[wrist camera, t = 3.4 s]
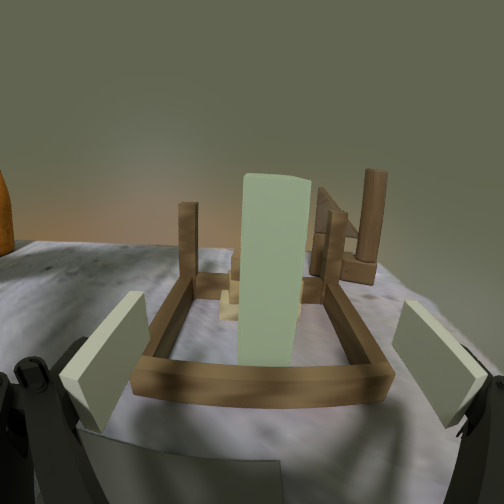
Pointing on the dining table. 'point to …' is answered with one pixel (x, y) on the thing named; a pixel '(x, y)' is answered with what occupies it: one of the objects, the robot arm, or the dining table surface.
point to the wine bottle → (5, 220)
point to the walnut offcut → (235, 265)
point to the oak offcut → (234, 290)
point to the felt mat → (178, 476)
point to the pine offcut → (235, 308)
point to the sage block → (271, 267)
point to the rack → (261, 377)
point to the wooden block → (354, 230)
